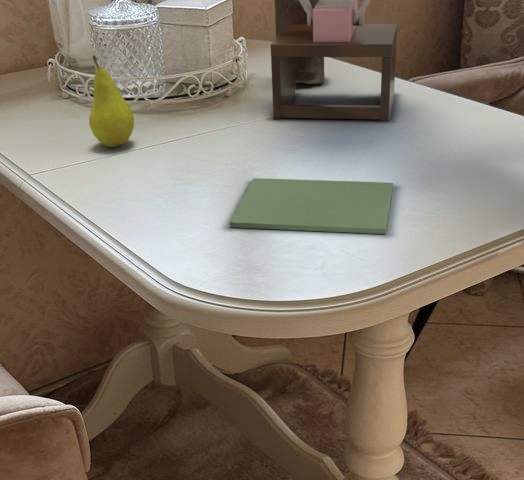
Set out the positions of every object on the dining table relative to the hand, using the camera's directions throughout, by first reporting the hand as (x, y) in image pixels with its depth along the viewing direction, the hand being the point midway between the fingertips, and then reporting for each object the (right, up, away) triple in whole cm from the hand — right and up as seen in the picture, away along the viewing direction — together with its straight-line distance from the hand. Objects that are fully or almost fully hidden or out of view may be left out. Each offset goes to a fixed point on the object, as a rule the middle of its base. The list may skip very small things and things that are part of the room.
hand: (335, 25), depth 108 cm
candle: (-4, -2, +17) cm, 18 cm away
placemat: (-4, -29, -22) cm, 37 cm away
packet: (0, -1, +1) cm, 1 cm away
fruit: (-29, -17, -3) cm, 34 cm away
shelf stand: (+1, -9, +6) cm, 11 cm away
